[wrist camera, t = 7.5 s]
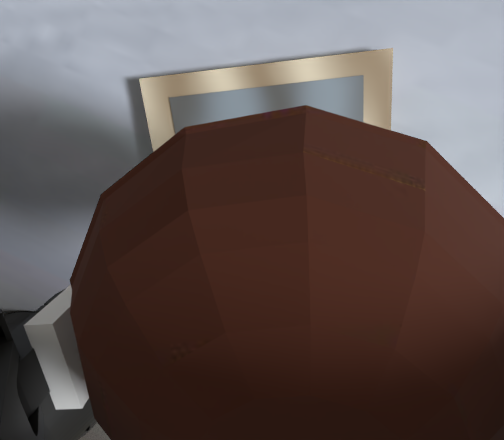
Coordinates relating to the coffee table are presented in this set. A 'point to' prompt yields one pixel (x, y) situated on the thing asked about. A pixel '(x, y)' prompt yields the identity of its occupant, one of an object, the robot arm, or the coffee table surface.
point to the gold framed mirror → (272, 91)
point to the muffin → (292, 289)
